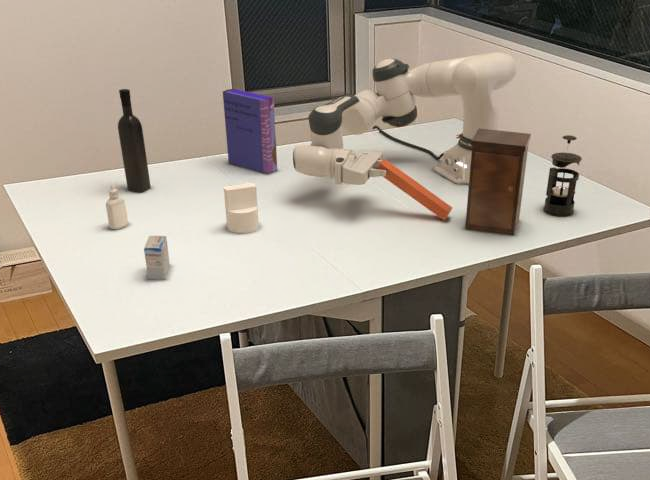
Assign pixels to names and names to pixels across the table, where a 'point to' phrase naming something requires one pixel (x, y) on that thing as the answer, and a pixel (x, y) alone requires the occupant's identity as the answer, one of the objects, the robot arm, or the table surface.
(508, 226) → the cabinet
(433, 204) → the orange rectangular bar
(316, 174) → the robot arm
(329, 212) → the table surface
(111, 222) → the eye dropper bottle
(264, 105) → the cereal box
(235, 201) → the cylinder with rectangular tab
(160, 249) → the medicine box
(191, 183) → the table surface
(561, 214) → the french press
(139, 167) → the wine bottle
